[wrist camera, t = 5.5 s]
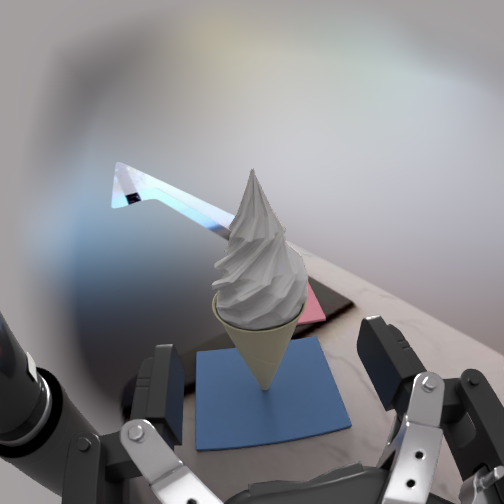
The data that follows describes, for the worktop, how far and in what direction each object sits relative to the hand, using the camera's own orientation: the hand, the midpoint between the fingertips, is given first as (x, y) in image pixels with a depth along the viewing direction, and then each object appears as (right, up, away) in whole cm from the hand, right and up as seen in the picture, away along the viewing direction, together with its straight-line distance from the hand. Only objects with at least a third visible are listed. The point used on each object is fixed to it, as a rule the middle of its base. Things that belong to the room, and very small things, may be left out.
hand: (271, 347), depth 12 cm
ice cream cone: (0, -6, +8) cm, 10 cm away
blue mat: (0, -6, +8) cm, 10 cm away
